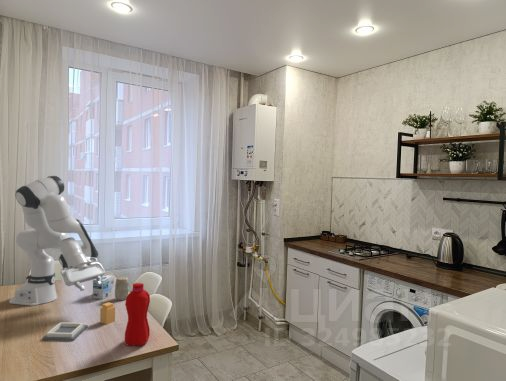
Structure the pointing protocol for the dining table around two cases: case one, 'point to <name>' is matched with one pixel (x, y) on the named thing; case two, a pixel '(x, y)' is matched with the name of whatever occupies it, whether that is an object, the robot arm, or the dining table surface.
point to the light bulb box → (103, 287)
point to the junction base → (65, 332)
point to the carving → (121, 288)
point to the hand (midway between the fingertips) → (91, 287)
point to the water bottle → (137, 316)
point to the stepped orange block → (107, 313)
